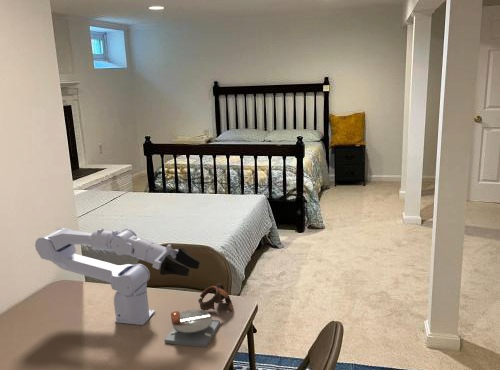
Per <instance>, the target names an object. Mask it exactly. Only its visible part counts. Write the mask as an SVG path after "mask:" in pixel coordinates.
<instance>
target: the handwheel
mask: <svg viewBox="0 0 500 370" xmlns="http://www.w3.org/2000/svg"><path fill="white" fill-rule="evenodd" d="M170 316H171V317H170V318H171V320H170V321H171V324H172V329H173V328H174V329H175V330H176V331H177V332H180V333H184V334H193V333H198V332H201V331H204V330H206V329H207V328H209V327H210V325H211V324H212V320H213V316H212V314H211V313H210V312H209V311H207V310H202V309H188V310H185V311H182V312H180V311H177V310H174V311H172V312H171V313H170Z"/></svg>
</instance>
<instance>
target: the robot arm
mask: <svg viewBox="0 0 500 370" xmlns="http://www.w3.org/2000/svg"><path fill="white" fill-rule="evenodd" d="M75 245H83V246H84V245H86V246H90V247H91V248H92V249H93V250H98V251H99V250H100V251H101V250H102V251H110V252H114V254H116V256H124V255H126V256H131V257H133V258H136V259H137V260H138V259H139V260H140V261H144V262H147V263H149V264H152V268H153V269H156V270H159V274H160V275H162V276H163V275H174V276H175V275H176V276H183V277H188V276H189V273H190V269H195V270H198V269H199V267H200V264H201V262H200V260H198V259H197V258H195V257H193V256H192V255H191V254H190V253H189V252H188V251H187V250H186V248H184V247H179V248H178V249H176V248H175V249H173V248H172V244H170V243H169V244H168V245H166V246H163V245H161V244H159V243H155V242H154V241H150V240H148V239H145V238H142V237H139V236H138V235H137V234H136V233H135V231H133V230H132V229H128V228H125V229H123V230H121V231H118V230H117V229H114V230H105V229H104V228H103V227H102V228H98V229H95V230H94V231H93V232H86V231H81V230H80V231H78V230H75V229H70V228H69V227H65V228H63V227H60V228H59V227H58V228H57V229H56V230H54V231H52V232H50V233H47V234H46V235H44V236H41V237H38V238H37V239H36V241H35V244H34V247H35V250H36V252H37V254H38V255H39V257H40V258H41V259H42V260H46V261H49V262H51V263H53V264H54V265H56V266H57V267H58V268H60V269H62V270H65V271H68V272H72V273H75V274H79V275H81V276H86V277H88V278H91V279H96V280H99V281H103V282H107V283H109V284H110V286H111V289H112V290H113V291H116V292H115V294H114V298H113V305H114V313H115V320H114V323H117V324H118V323H119V324H130V325H131V324H132V325H138V326H139V325H141V326H143V325H145V324H146V322H148V321H149V319H150V318H151V317H152V316H153V315H154V314H155V313H156V311H155V309H150V307H149V298H148V290H147V288H148V287H147V286H148V281H149V280H150V278H151V277H150V276H151V272H150V270H149V269H148V267H147V266H145V265H144V264H142V263H136V264H130V263H126V264H121V265H118V264H115V263H111V262H109V261H103V260H101V259H96V258H92V257H88V256H85V255H82V254H77V253H76V252H77V250H76V249H77V248H76V247H75Z"/></svg>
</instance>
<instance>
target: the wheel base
mask: <svg viewBox="0 0 500 370" xmlns="http://www.w3.org/2000/svg"><path fill="white" fill-rule="evenodd" d="M220 325H221V320H219V319H218V320H217V319H212V324H211V325H210V327H209V328H207V329H206V330H204V331H201V332H198V333H193V334H184V333H180V332H177V331H176V330H175V329H174V328H173V327H172V329H171V330H170V331H169V333H168V334H167V336H166V337H165V339H164V344H172V345H178V346H179V345H180V346H181V345H182V346H187V347H189V346H190V347H198V348H207V347H208V346H209V344H210V342H211V340H212V338H213V337H214V336H215V333H216V332H217V330H218V328H219V326H220Z"/></svg>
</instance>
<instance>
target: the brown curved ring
mask: <svg viewBox="0 0 500 370" xmlns="http://www.w3.org/2000/svg"><path fill="white" fill-rule="evenodd" d="M211 292H212V293H213V294H214V295H213V297H211V299H209V300H207V301H205V302H204V301H203V300H204V299H205V297H206V296H207V295H208V294H210V293H211ZM199 296H200V298H199V299H198V304H199V307H200V310H204V311H209V310H212V311H213V310H216V308H215V304H223V303H224V301H225V304H227V305H228V308H229V310H230V312H233V308H234V306H233V303H232V302H233V301H232V300H231V297H230V296H229V293H228V292H226V291H225V287H224V285H223V284H222V283H220V282H218V283H216V284H215V285H211V286H208V287H207V288H206V289H204V290H203V291H202V292H201V294H200V295H199Z"/></svg>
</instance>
